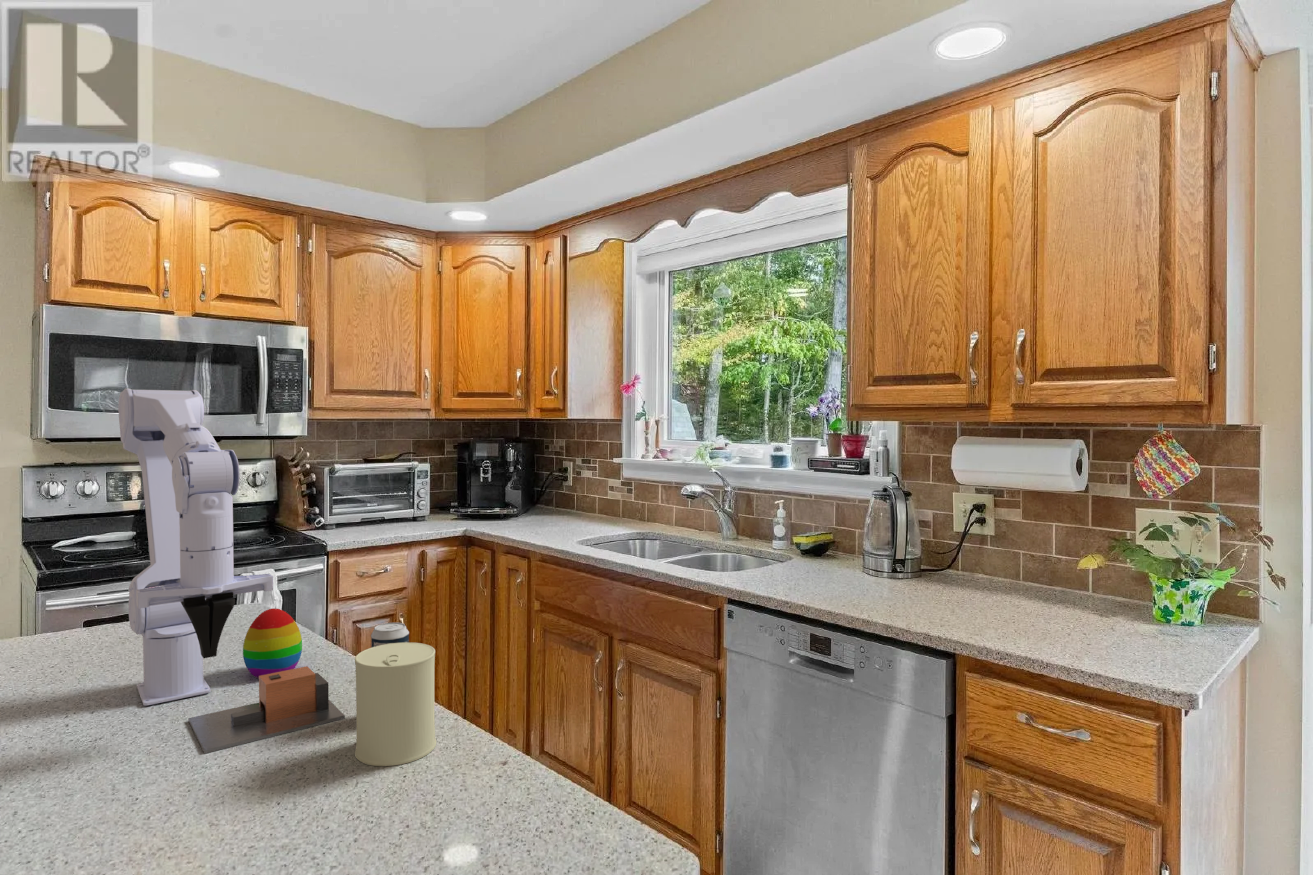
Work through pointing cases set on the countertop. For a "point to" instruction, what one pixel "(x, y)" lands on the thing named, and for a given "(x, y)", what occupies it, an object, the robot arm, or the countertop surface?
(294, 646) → the decorative egg
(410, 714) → the can
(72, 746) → the countertop surface
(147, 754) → the countertop surface
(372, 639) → the beer can
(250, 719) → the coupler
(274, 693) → the orange block
